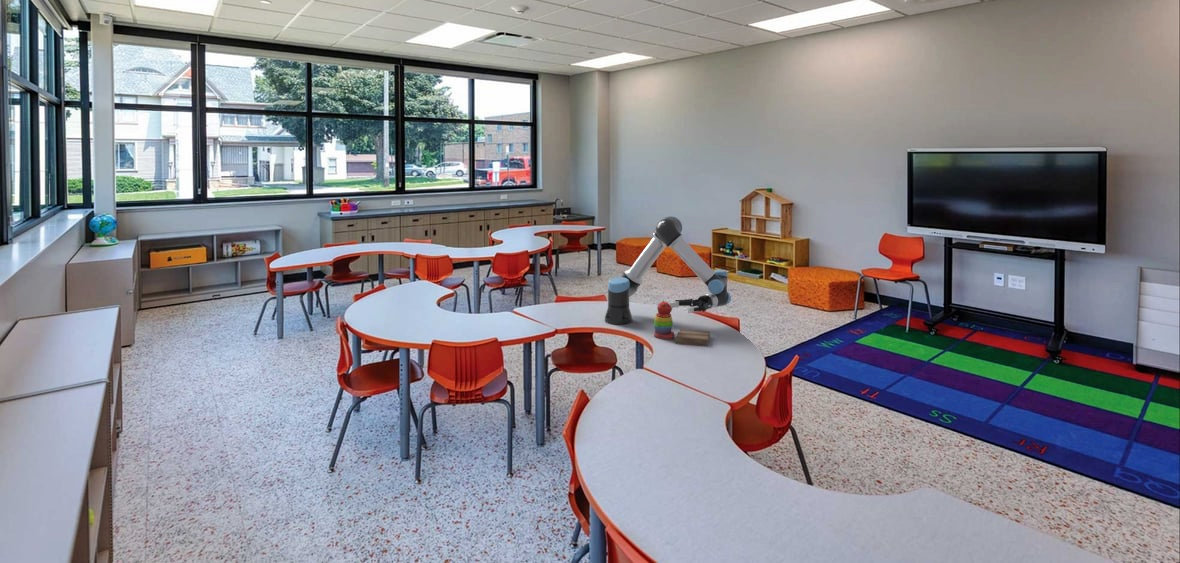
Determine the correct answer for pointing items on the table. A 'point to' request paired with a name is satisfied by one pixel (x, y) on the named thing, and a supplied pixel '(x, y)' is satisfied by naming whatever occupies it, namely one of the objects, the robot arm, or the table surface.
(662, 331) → the stacking bear
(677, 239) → the robot arm
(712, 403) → the table surface
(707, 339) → the walnut plinth
